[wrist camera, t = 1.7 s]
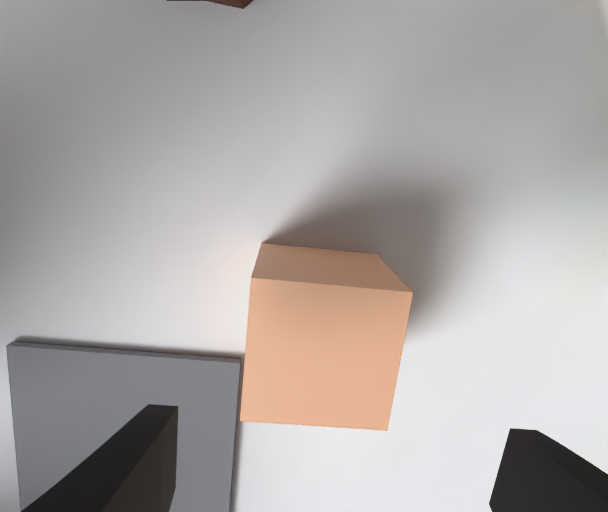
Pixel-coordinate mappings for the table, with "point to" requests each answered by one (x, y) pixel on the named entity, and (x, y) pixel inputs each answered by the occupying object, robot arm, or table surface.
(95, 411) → the charcoal mat
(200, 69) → the table surface
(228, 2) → the muffin
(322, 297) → the terracotta block
